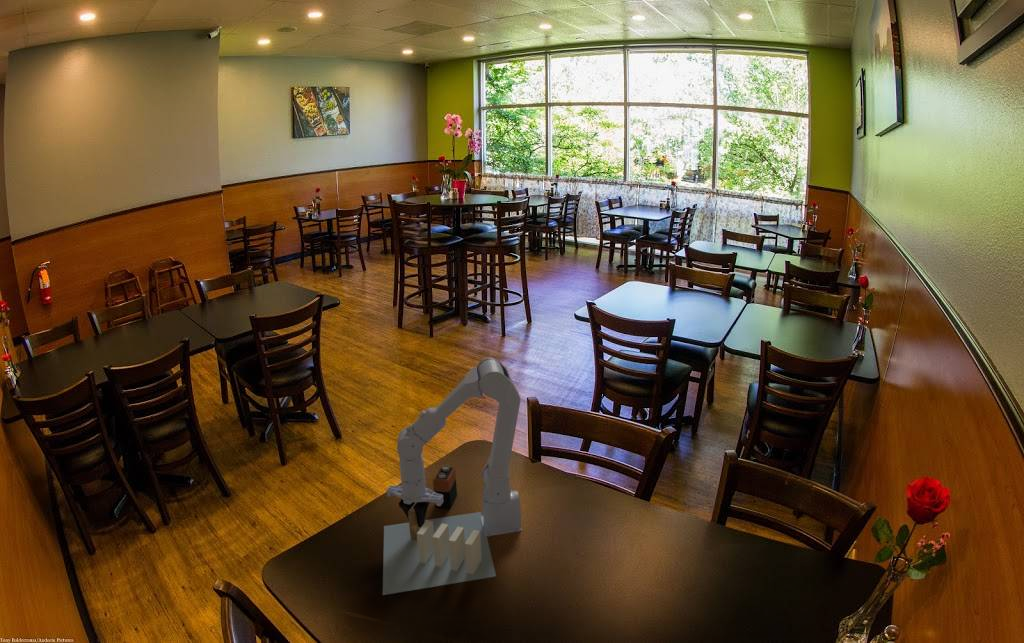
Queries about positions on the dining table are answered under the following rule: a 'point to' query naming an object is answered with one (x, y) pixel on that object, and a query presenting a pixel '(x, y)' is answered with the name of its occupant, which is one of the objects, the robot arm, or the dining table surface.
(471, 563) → the domino
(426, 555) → the domino
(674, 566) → the dining table surface
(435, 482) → the battery
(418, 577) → the mat
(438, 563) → the domino
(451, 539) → the domino
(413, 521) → the oak domino
